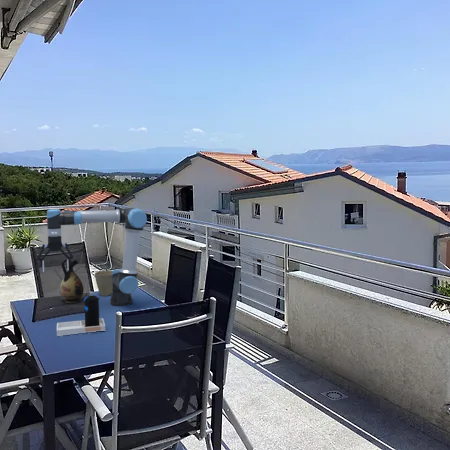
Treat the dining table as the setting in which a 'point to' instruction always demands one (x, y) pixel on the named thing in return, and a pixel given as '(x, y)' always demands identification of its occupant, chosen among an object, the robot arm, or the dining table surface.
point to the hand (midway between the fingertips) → (55, 271)
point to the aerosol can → (91, 310)
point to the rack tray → (78, 327)
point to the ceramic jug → (71, 284)
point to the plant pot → (104, 282)
